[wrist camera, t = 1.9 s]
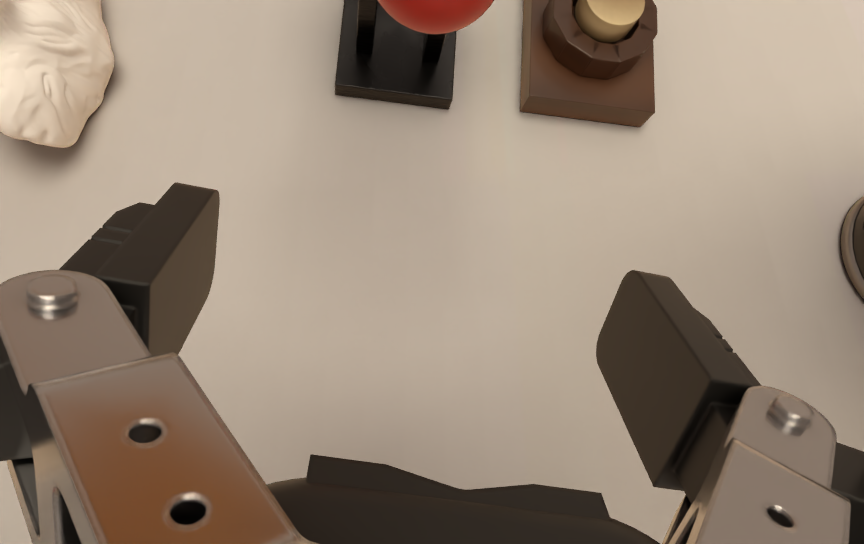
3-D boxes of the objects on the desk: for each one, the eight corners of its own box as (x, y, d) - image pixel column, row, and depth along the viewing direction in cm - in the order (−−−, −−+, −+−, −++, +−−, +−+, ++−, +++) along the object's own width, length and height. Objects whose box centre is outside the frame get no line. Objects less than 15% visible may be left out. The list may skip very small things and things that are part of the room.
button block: (640, 127, 41) (671, 96, 37) (519, 111, 40) (539, 78, 36) (637, -7, 43) (667, -49, 40) (524, -25, 42) (542, -70, 38)
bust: (83, 2, 40) (-144, -133, 30) (163, -39, 36) (-66, -208, 27) (52, 182, 37) (-208, 95, 27) (137, 157, 33) (-130, 47, 24)
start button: (632, 46, 38) (645, 29, 36) (574, 38, 38) (585, 20, 36) (631, -6, 39) (644, -25, 37) (574, -15, 38) (585, -35, 37)
